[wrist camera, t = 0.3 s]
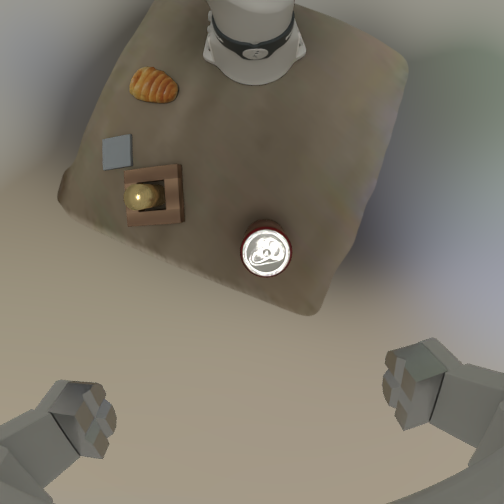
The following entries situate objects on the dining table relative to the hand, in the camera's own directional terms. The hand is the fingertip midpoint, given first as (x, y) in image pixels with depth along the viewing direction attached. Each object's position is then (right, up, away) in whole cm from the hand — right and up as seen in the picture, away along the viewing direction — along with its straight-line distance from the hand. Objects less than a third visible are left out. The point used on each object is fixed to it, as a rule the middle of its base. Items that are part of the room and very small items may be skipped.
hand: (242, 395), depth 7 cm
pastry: (-18, +35, +41) cm, 57 cm away
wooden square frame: (-17, +14, +45) cm, 50 cm away
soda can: (+3, +6, +46) cm, 47 cm away
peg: (-17, +14, +45) cm, 50 cm away
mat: (-25, +22, +43) cm, 55 cm away
